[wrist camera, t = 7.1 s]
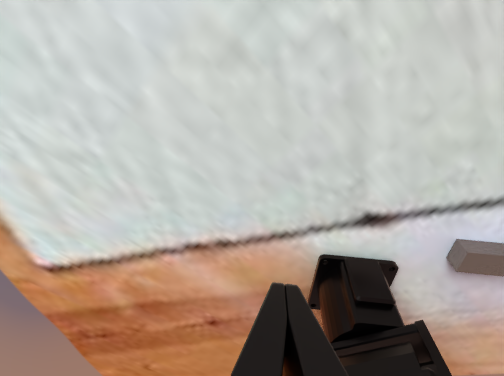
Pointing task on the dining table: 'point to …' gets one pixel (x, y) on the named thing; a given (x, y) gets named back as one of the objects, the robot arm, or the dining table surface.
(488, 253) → the vise
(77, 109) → the dining table surface
